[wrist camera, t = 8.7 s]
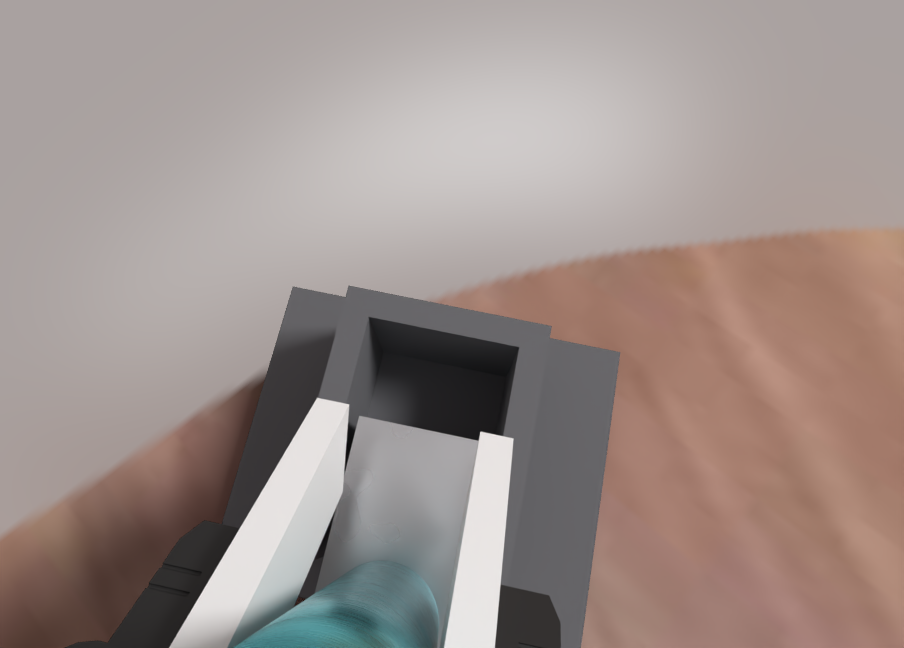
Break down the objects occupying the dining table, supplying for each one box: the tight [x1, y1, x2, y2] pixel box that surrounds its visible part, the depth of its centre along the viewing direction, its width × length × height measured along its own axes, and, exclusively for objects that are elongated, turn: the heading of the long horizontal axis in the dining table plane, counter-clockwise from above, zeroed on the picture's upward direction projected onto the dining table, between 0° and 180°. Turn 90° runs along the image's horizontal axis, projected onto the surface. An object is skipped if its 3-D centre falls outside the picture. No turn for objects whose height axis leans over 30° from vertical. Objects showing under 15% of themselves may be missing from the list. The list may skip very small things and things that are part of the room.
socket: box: [222, 286, 620, 648], centre depth 19 cm, size 12×10×5 cm
